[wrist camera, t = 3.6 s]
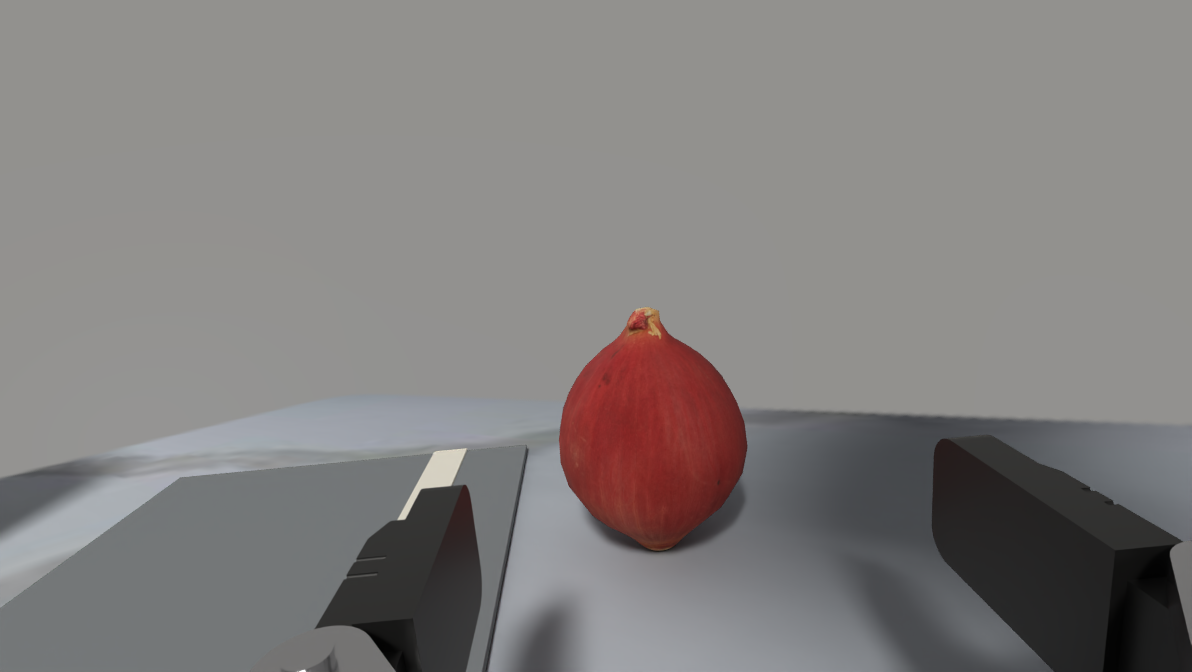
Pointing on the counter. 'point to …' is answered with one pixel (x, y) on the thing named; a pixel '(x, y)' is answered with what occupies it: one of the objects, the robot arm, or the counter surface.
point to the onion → (651, 435)
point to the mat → (244, 564)
